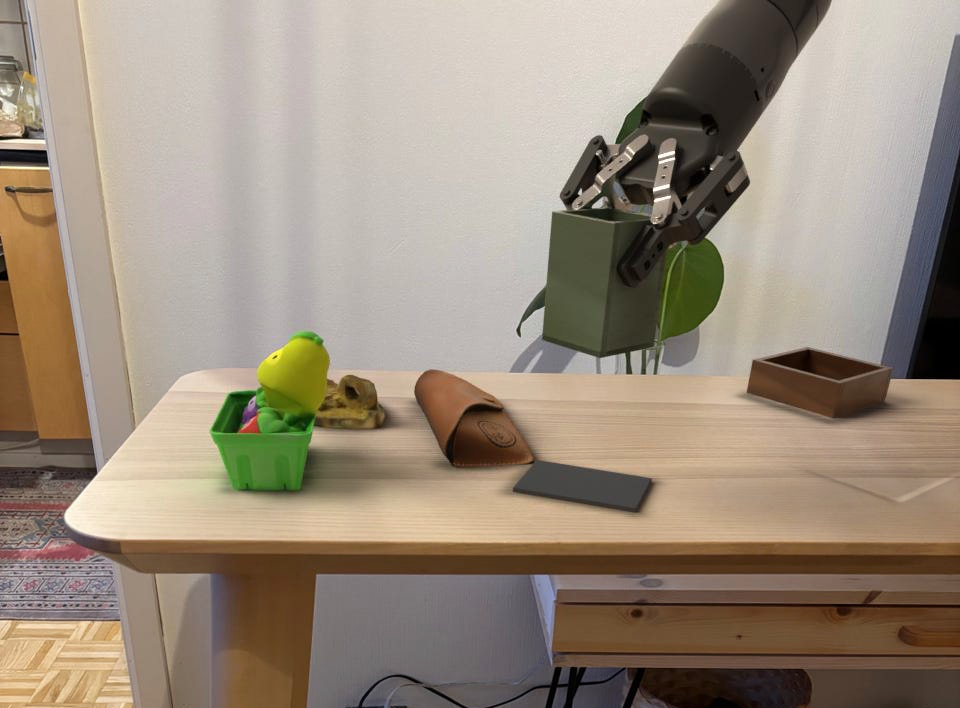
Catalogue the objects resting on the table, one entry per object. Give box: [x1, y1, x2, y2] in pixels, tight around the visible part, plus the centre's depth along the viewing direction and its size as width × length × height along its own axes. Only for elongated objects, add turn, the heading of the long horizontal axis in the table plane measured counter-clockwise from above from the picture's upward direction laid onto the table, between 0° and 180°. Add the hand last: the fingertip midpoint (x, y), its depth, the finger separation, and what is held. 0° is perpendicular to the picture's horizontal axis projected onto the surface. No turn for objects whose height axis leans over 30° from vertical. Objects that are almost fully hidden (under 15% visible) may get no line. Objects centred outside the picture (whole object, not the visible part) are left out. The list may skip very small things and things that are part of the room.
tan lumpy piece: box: [314, 374, 386, 430], centre depth 92 cm, size 9×5×15 cm
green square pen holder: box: [541, 207, 668, 359], centre depth 70 cm, size 6×6×9 cm
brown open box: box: [746, 346, 895, 419], centre depth 101 cm, size 10×10×4 cm
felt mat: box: [512, 459, 653, 514], centre depth 78 cm, size 10×7×1 cm
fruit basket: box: [209, 330, 331, 491], centre depth 76 cm, size 11×9×11 cm
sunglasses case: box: [413, 368, 535, 468], centre depth 88 cm, size 18×7×7 cm
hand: (590, 270), depth 68 cm, fingers closed on green square pen holder, 6 cm apart
